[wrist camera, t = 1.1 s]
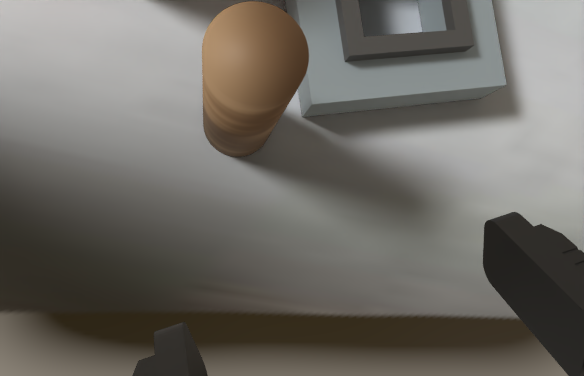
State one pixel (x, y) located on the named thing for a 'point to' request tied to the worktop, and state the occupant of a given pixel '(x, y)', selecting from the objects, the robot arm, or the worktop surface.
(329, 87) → the socket
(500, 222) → the robot arm
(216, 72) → the dowel
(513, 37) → the worktop surface
